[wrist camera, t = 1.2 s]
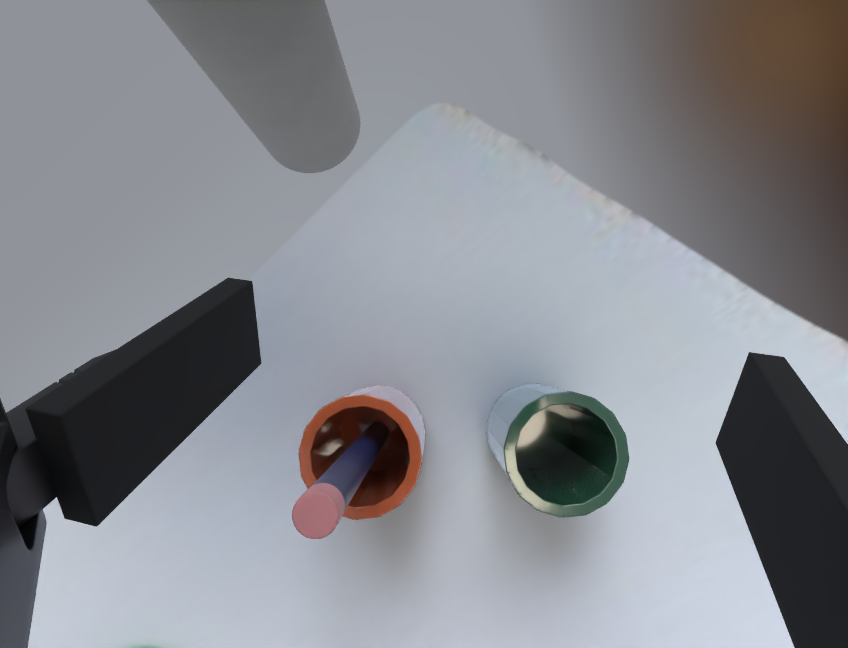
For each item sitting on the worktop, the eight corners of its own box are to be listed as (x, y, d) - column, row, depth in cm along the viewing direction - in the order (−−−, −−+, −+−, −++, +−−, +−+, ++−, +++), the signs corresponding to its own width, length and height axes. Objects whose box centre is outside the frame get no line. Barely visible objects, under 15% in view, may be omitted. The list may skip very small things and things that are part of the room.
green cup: (481, 388, 35) (497, 399, 26) (572, 378, 35) (619, 385, 26) (492, 481, 35) (512, 523, 26) (584, 470, 35) (636, 509, 26)
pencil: (365, 422, 34) (289, 494, 16) (388, 420, 34) (335, 488, 16) (368, 445, 34) (294, 542, 16) (390, 442, 34) (340, 536, 16)
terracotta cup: (329, 391, 35) (293, 402, 26) (419, 380, 35) (413, 388, 26) (338, 482, 35) (305, 525, 26) (429, 472, 35) (427, 512, 26)
